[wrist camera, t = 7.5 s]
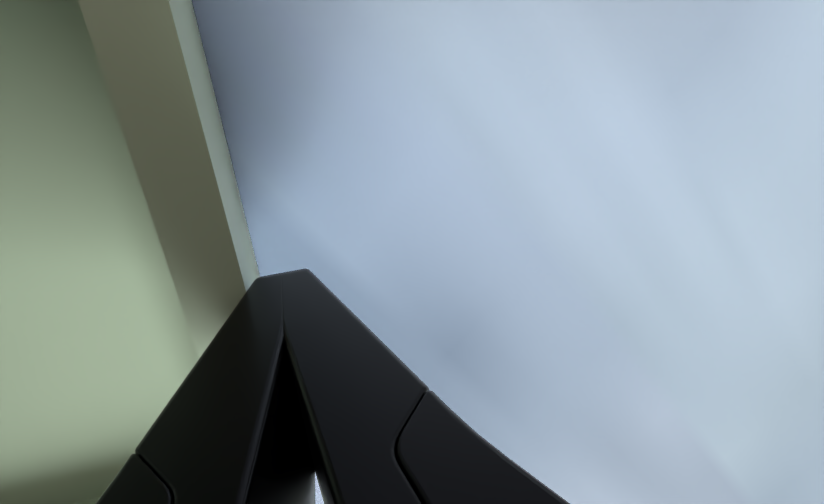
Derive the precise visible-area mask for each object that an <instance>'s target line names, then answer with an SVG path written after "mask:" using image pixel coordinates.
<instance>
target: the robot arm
mask: <svg viewBox="0 0 824 504" xmlns="http://www.w3.org/2000/svg"><path fill="white" fill-rule="evenodd" d="M315 472H316V476H317V479H318V483H319V486H320V490H321V494H322V497H323V501H324V504H570V503H568V502H567V501H566V500H564V499H563V498H562V497H560V496H559V495H558V494H556V493H555V492H553V491H552V490H551V489H549V488H548V487H547V486H545V485H544V484H543V483H541V482H540V481H539V480H537V479H536V478H535V477H533V476H532V475H531V474H529V473H528V472H527V471H525V470H524V469H523V468H521V467H520V466H519V465H517V464H516V463H515V462H513V461H512V460H510V459H509V458H508V457H507V456H505V455H504V454H503V453H502V452H500V451H499V450H498V449H496V448H495V447H494V446H493V445H491V444H490V443H489V442H488V441H486V440H485V439H484V438H482V437H481V436H480V435H479V434H477V433H476V432H475V431H474V430H473V429H472V428H471V427H470V426H468V425H467V424H466V423H465V422H464V421H463V420H462V419H461V418H460V417H459V416H458V415H456V414H455V413H454V412H453V411H452V410H451V409H450V408H449V407H448V406H447V405H446V404H445V403H444V402H443V401H442V400H441V399H440V398H439V397H438V396H437V395H436V394H435V393H434V392H433V391H430V390H429V388H428V387H427V386H426V385H425V384H424V383H423V382H422V381H421V380H420V379H419V378H418V377H417V376H416V375H415V374H414V373H413V372H412V371H411V370H410V369H409V368H408V367H407V366H406V365H405V364H404V363H403V362H402V361H401V360H400V359H399V358H398V357H397V356H396V355H395V354H394V353H393V352H392V351H391V350H390V349H389V348H388V347H387V346H386V345H385V344H384V343H383V342H382V341H381V340H380V339H379V338H378V337H377V336H376V335H375V334H374V333H373V332H372V331H371V330H370V329H369V328H368V327H367V326H366V325H365V324H364V323H363V322H362V321H361V320H360V319H359V318H358V317H357V316H355V315H354V314H353V313H352V312H351V311H350V310H349V309H348V308H347V307H346V306H345V305H344V304H343V303H342V302H341V301H340V300H339V299H338V298H337V297H336V296H335V295H334V294H333V293H332V292H331V291H330V290H329V289H328V288H327V287H326V286H325V285H324V284H323V283H322V282H321V281H320V280H319V279H318V278H317V277H316V276H315V275H314V274H313V273H312V272H311V271H310V270H308V269H301V270H295V271H290V272H284V273H279V274H274V275H268V276H263V277H258V278H256V279H255V280H254V282H253V283H252V284H251V286H250V287H249V289H248V290H247V291H246V293H245V294H244V296H243V297H242V299H241V300H240V301H239V303H238V304H237V306H236V307H235V308H234V310H233V311H232V313H231V314H230V316H229V317H228V318H227V320H226V321H225V323H224V324H223V325H222V327H221V328H220V330H219V331H218V332H217V334H216V335H215V337H214V338H213V340H212V341H211V342H210V344H209V345H208V347H207V348H206V349H205V351H204V352H203V354H202V355H201V357H200V358H199V359H198V361H197V362H196V364H195V365H194V366H193V368H192V369H191V371H190V372H189V374H188V375H187V376H186V378H185V379H184V381H183V382H182V383H181V385H180V386H179V388H178V389H177V391H176V392H175V393H174V395H173V396H172V398H171V399H170V400H169V402H168V403H167V405H166V406H165V407H164V409H163V410H162V412H161V413H160V415H159V416H158V417H157V419H156V420H155V422H154V423H153V424H152V426H151V427H150V429H149V430H148V432H147V433H146V434H145V436H144V437H143V439H142V440H141V441H140V443H139V444H138V446H137V447H136V449H135V454H131V455H130V457H129V458H128V459H127V461H126V462H125V464H124V465H123V466H122V468H121V469H120V471H119V472H118V474H117V475H116V476H115V478H114V479H113V481H112V482H111V483H110V485H109V486H108V487H107V489H106V490H105V491H104V493H103V494H102V495H101V497H100V498H99V499H98V501H97V502H96V503H95V504H315Z"/></svg>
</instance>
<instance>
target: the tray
mask: <svg viewBox="0 0 824 504" xmlns="http://www.w3.org/2000/svg"><path fill="white" fill-rule="evenodd" d="M258 277H260V275H259V271H258V267H257V263H256V259H255V255H254V250H253V246H252V242H251V238H250V234H249V230H248V226H247V222H246V218H245V214H244V210H243V206H242V202H241V198H240V194H239V190H238V186H237V182H236V178H235V174H234V170H233V166H232V162H231V158H230V154H229V150H228V146H227V142H226V138H225V134H224V130H223V126H222V121H221V117H220V113H219V109H218V105H217V101H216V97H215V93H214V89H213V85H212V81H211V77H210V73H209V69H208V65H207V61H206V57H205V53H204V49H203V45H202V41H201V37H200V33H199V29H198V25H197V21H196V17H195V13H194V9H193V5H192V1H191V0H0V504H95V503H96V502H97V501H98V499H99V498H100V497H101V495H102V494H103V493H104V491H105V490H106V489H107V487H108V486H109V485H110V483H111V482H112V481H113V479H114V478H115V476H116V475H117V474H118V472H119V471H120V469H121V468H122V466H123V465H124V464H125V462H126V461H127V459H128V458H129V457H130V455H131V454H135V449H136V447H137V446H138V444H139V443H140V441H141V440H142V439H143V437H144V436H145V434H146V433H147V432H148V430H149V429H150V427H151V426H152V424H153V423H154V422H155V420H156V419H157V417H158V416H159V415H160V413H161V412H162V410H163V409H164V407H165V406H166V405H167V403H168V402H169V400H170V399H171V398H172V396H173V395H174V393H175V392H176V391H177V389H178V388H179V386H180V385H181V383H182V382H183V381H184V379H185V378H186V376H187V375H188V374H189V372H190V371H191V369H192V368H193V366H194V365H195V364H196V362H197V361H198V359H199V358H200V357H201V355H202V354H203V352H204V351H205V349H206V348H207V347H208V345H209V344H210V342H211V341H212V340H213V338H214V337H215V335H216V334H217V332H218V331H219V330H220V328H221V327H222V325H223V324H224V323H225V321H226V320H227V318H228V317H229V316H230V314H231V313H232V311H233V310H234V308H235V307H236V306H237V304H238V303H239V301H240V300H241V299H242V297H243V296H244V294H245V293H246V291H247V290H248V289H249V287H250V286H251V284H252V283H253V282H254V280H255V279H256V278H258Z"/></svg>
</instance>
